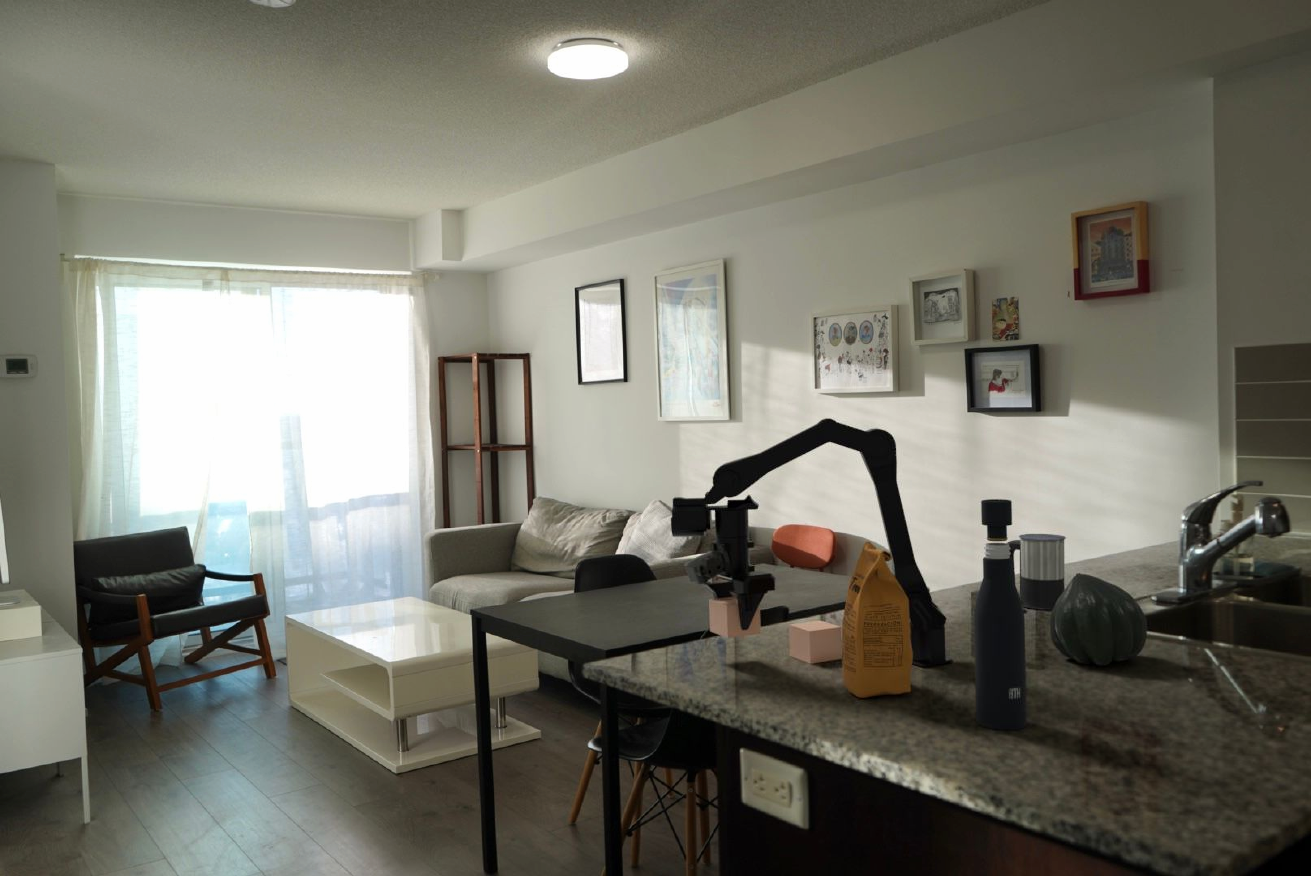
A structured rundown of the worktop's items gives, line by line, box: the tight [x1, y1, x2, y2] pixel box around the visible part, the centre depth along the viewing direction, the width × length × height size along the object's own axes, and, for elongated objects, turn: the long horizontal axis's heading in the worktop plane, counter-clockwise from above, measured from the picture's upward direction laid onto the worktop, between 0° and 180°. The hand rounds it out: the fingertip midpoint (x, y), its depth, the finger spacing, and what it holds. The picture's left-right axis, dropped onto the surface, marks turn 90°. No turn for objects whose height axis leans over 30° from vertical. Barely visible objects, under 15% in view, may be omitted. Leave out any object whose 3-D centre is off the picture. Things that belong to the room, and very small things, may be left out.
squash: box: [1048, 572, 1148, 667], centre depth 167 cm, size 14×15×15 cm
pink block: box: [708, 597, 762, 639], centre depth 173 cm, size 6×6×6 cm
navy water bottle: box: [973, 498, 1028, 731], centre depth 135 cm, size 6×6×30 cm
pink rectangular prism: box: [788, 619, 842, 665], centre depth 174 cm, size 6×6×6 cm
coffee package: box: [841, 541, 913, 699], centre depth 153 cm, size 10×12×22 cm
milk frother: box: [1006, 533, 1067, 611], centre depth 210 cm, size 14×16×15 cm
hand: (735, 626), depth 173 cm, fingers closed on pink block, 6 cm apart
